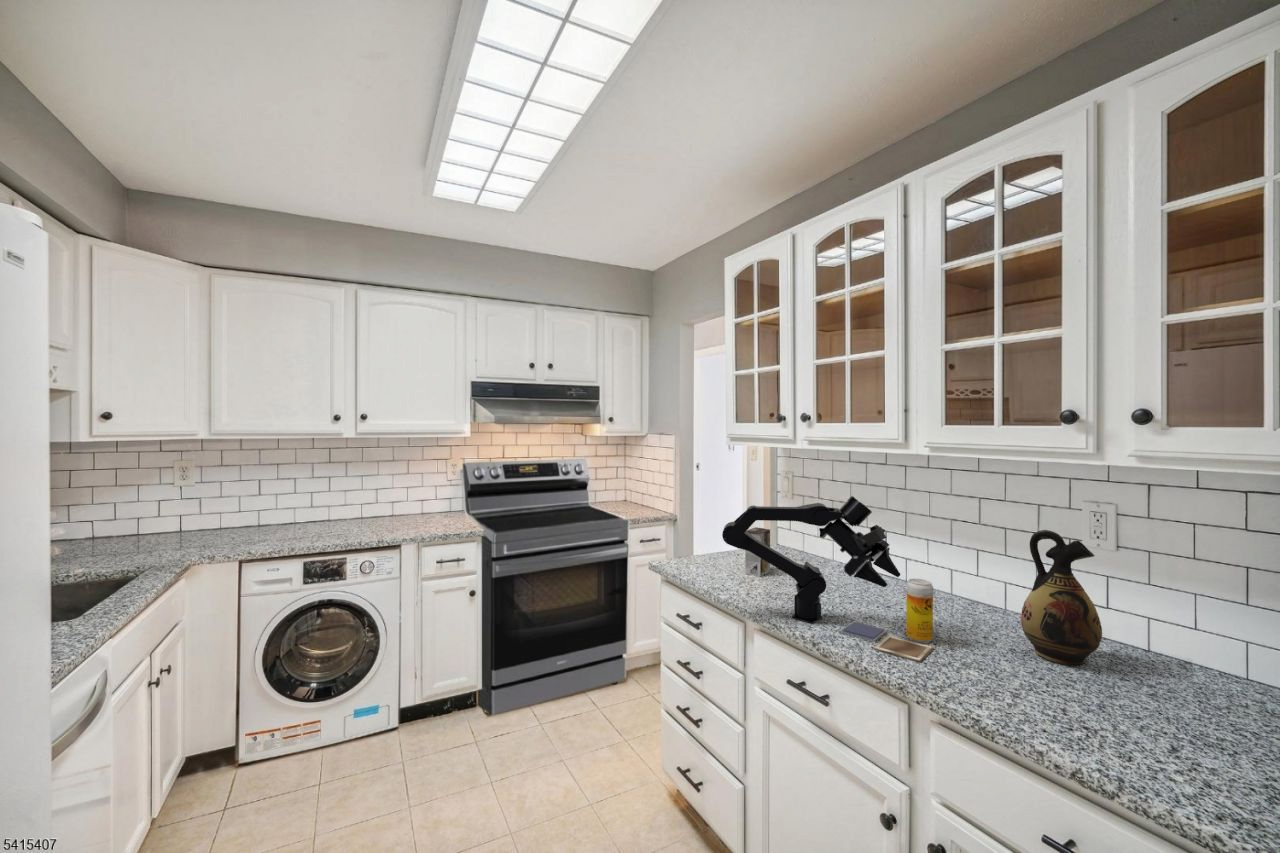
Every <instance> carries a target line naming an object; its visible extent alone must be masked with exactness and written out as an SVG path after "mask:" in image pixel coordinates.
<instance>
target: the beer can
mask: <svg viewBox="0 0 1280 853" xmlns="http://www.w3.org/2000/svg"><path fill="white" fill-rule="evenodd" d="M905 617H906V619H905V621H906V626H905V627H906V630H905V632H906V636H907V637H908V640H909V641H912V642H915V643H919V644H929V643H930V642H931V641H933V636H934V633H933V632H934V627H933V626H934V625H933V624H934V623H933V622H934V586H933V584H932V582H931V581H930V580H927V579H924V578H923V579H921V578H909V579H908V581H907V583H906V616H905Z"/></svg>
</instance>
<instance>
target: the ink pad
mask: <svg viewBox="0 0 1280 853" xmlns="http://www.w3.org/2000/svg"><path fill="white" fill-rule="evenodd" d="M840 633H841V635H844V634H845V636H848V635H849V637H851V636H853V638H855V637H856V639H859V638H860V640H862V639H864V640H863V641H866V640H868V641H867V642H870V641H871V643H873V642H875V643H877V642H878V641H879V640H880V639H881V637H882V638H883V637H884V636H886V635H887V634H888V630H886V629H884V628H881V627H880V628H879V627H875V626H871V625H868V624H864V623H860V622H856V621H852V622H851V623H850V624H848V625H847V626H845V627H844V628H841V630H839V634H840ZM877 640H878V641H877Z"/></svg>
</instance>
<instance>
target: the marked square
mask: <svg viewBox="0 0 1280 853" xmlns="http://www.w3.org/2000/svg"><path fill="white" fill-rule="evenodd" d="M873 649H874V650H873ZM934 649H935V647H933V646H932V645H931V646H930V645H926V644H924V643H918V642H914V641H912V640H909V639H908V640H907V639H903V638H899V637H896V636H892V635H887V636H885V637H884V638H883V639H881V641H879V642H878V643H876V644H875V645H874V646H873V647H872V650H873V651H877V650H878V651H877V652H880V651H881V653H884V654H888V655H892V656H895V657H899V658H902V659H905V660H910V661H913V662H915V663H919V664H921V663H923V661H924V660H925V659H926V658H927V657H928V656H929V654H931V653H932V652H933V651H934Z"/></svg>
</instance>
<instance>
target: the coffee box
mask: <svg viewBox="0 0 1280 853" xmlns="http://www.w3.org/2000/svg"><path fill="white" fill-rule="evenodd" d="M747 531H748V532H749V533H750V534H751V535H752V536H753V537H754V538H755V539H757V540H759V541H760V542H762V543H764V544H765V545H767V546H769V547H770V548H771V529H768V528H763V527H758V526H757V527H752V528H750V529H748V530H747ZM744 551H745V552H744V553H745V560H744V561H745V562H744V563H745V565H744V566H745V568H744V569H745V570H744V573H745V574H744V575H747V574H749V576H752V575H754V576H753V577H758V576H761V577H763V576H765V575H767V574H769V573H770V572H771V564H770V563H768V562H766V561H765V560H763V559H761V558H760V557H758V556H756V555H755V554H753V553H751V552H749V551H747V550H744ZM769 571H770V572H769ZM764 574H765V575H764Z"/></svg>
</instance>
